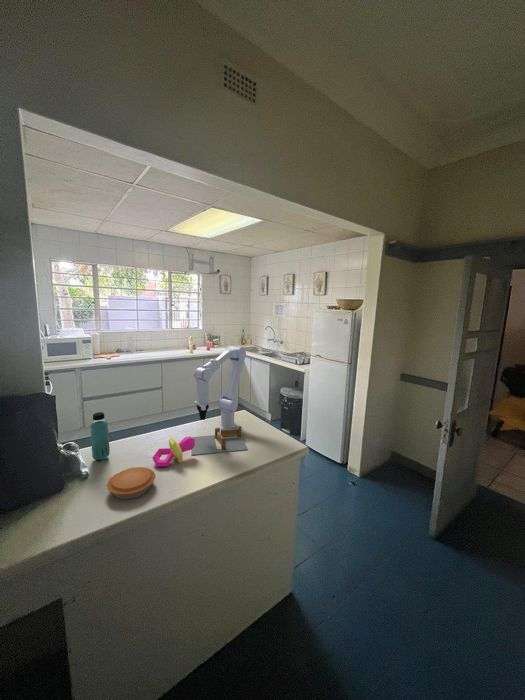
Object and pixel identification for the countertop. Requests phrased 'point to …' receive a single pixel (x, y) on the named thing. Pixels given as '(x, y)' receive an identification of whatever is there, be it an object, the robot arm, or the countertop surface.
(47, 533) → the countertop surface
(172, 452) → the toy
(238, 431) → the fence fixed
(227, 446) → the card
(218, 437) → the fence hinged
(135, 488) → the pie
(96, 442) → the beverage bottle
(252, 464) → the countertop surface
